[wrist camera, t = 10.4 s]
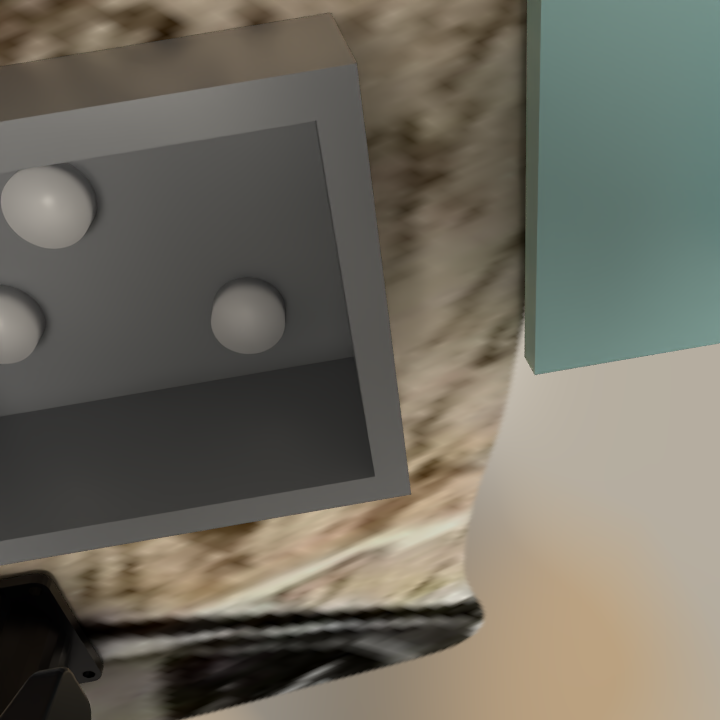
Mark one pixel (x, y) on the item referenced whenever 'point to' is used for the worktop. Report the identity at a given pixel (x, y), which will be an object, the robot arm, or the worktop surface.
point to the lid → (621, 180)
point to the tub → (190, 291)
